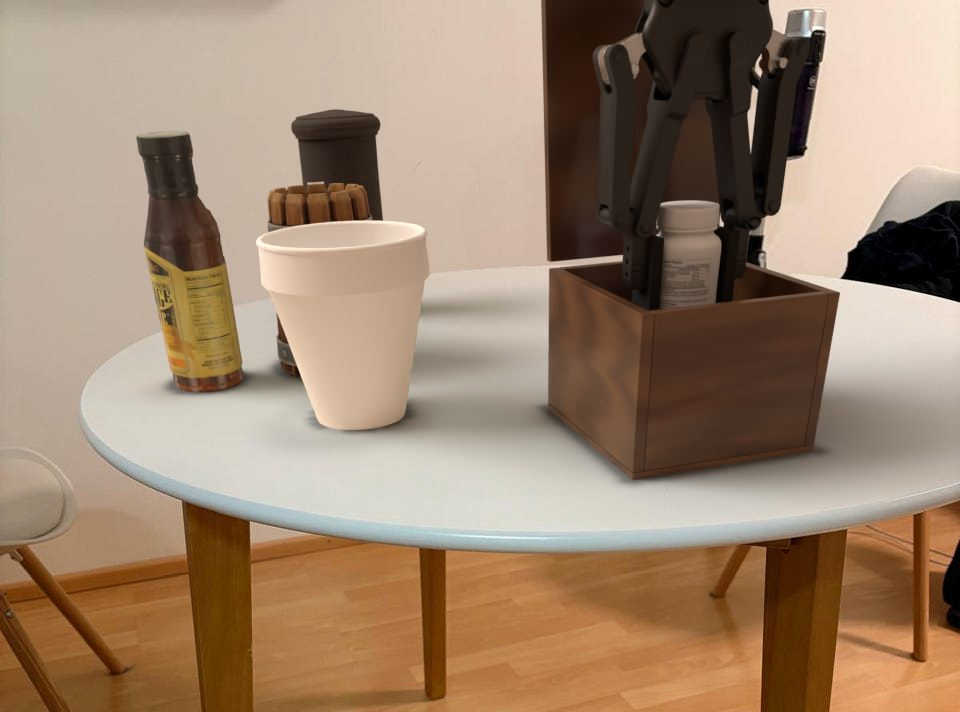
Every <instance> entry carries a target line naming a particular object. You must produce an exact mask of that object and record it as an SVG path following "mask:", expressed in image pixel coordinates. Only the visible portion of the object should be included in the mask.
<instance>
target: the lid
mask: <svg viewBox="0 0 960 712" xmlns="http://www.w3.org/2000/svg"><path fill="white" fill-rule="evenodd" d="M540 7H541V8H540V9H541V51H542V56H541V57H542V87H543V88H542V94H543V96H542V99H543V101H542V103H543V142H544V143H543V144H544V185H545V228H546V231H545V232H546V235H545V236H546V261H547V262H549V263H553V262H555V263H556V262H564V261H565V262H566V261H574V260H585V259H586V260H587V259H595V258H596V259H597V258H607V257H617V256H623V243H624V240H623V235H622V233H621V232H620V231H619V230H617V229H614V228H611V227H609V226H606V225H603V224H601V223H599V222H598V220H597V216H596V210H597V182H598V154H599V126H600V97H601V91H600V87H599V83H598V79H597V75H596V71H595V68H594V64H593V53H594V51H595V49H596V48H597V47H598V46H601V45H613V44H615V43H617V42H619V41H621V40H623V39H625V38H627V37H629V36H631V35H633V34H635V29H636V26H637V23H638V21H639V19H640V17H641V14H642V11H643V7H644V0H540ZM639 68H640V70H639V73H638V75H637V77H636V78H635V79H634V82H635V118H634V136H633V155H632V174H631V182H632V178H633V174H634V170H635V166H636V162H637V158H638V154H639V150H640V146H641V142H642V138H643V134H644V130H645V126H646V122H647V117H648V114H647V103H648V99H649V95H650V91H651V87H652V83H653V78H652V76H651V74H650V72H649V70H648V68H647V66H646V64H645V62H644V60H643V58H642V56H641V58H640V61H639ZM692 200H696V201H709V202H715V203H718V204H719V196H718V186H717V176H716V166H715V157H714V147H713V137H712V127H711V119H710V116H709V114H708V113H707V111H706V107H705V99H699V100H697V101H692V104H691V108H690V111H689V114H688V116H687V118H686V119H685V120H684V121H683V123H682V126H681V130H680V134H679V138H678V141H677V145H676V149H675V153H674V156H673V160H672V164H671V167H670V171H669V175H668V179H667V182H666V186H665V190H664V194H663V197H662V201H661V203H665V202H672V201H692ZM720 223H721V215H720V205H719V223H718V225H717V226H721V225H720ZM656 227H657V224H655V227H654V231H653V233H652V234H653V235H657V234H659V232H660V230H658V229H657V228H656Z"/></svg>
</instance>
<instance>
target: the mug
mask: <svg viewBox="0 0 960 712" xmlns="http://www.w3.org/2000/svg"><path fill="white" fill-rule="evenodd" d="M267 209H268V211H267V212H268V220H267V223H266V224H267V233H268V232H272V231H275V230H279V229H283V228H288V227H293V226H300V225H307V224H315V223H326V222H340V221H371V220H372V221H373V219H372V215H370V212H369V206H368V199H367V193H366V191H365V189H364V187H363V186H359V185H358V184H347V186H345V185H344V184H343V183H331V184H329V187H328V189H327V188H326V187H325V185H324V182H310V183H308V186H307V189H306V190H305V189H304V187H303V184H298V185H297V184H296V185H289V186H287V189H286V187H278V188H274V189H273V190H272V189H271V190H269V192H268V196H267ZM276 321H277V322H276V323H277V335H276V347H277V357H278V360H279V361H280V368H281V369H282V370H283V371H284V372H285V373H287V374H289V375H290V376H293V377H301V375H300V372H299V370H298V367H297V364H296V362H295V359H294V356H293V354H292V351H291V348H290V346H289V343H288V340H287V338H286V335H285V333H284V330H283V327H282V325H281V322H280V319H279V317H278V314H277V313H276Z"/></svg>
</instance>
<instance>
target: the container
mask: <svg viewBox="0 0 960 712" xmlns="http://www.w3.org/2000/svg"><path fill="white" fill-rule="evenodd" d="M290 129H291V132H292V135H293V136H294V137H295V139H296V140H297V145H298V152H299V154H298V155H299V163H300V171H301V181H302V182H301V183H302V185H303V187H304V189H305V190H306V189H307V186H308V183H310V182H324V185H325V187H326V188H327V189H328V187H329V184H331V183H343V184H344V185H345V186H347V184H358V185H359V186H363V187H364V189H365V191H366V193H367V199H368V206H369V212H370V215H372V219H373V221H384V215H383V205H382V204H383V203H382V195H381V185H380V172H379V161H378V148H377V136H378V135H379V131H380V129H381V121H380V118H379V117H378V116H376V115H375V114H374V113H371V112H363V111H359V110H358V111H356V110H348V109H340V108H339V109H337V108H334V109H333V108H332V109H327V110H322V111H318V112H312V113H307V114H305V115H299V116H296V117H295V119H294V120H293V121H292V122H291V126H290Z"/></svg>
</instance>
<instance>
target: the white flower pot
mask: <svg viewBox="0 0 960 712" xmlns="http://www.w3.org/2000/svg"><path fill="white" fill-rule="evenodd" d="M427 237H428V232H427V229H426V228H425V227H424V226H421V225H418V224H416V223H410V222H405V221H394V220H383V221H372V220H371V221H340V222H326V223H315V224H307V225H300V226H293V227H288V228H283V229H279V230H275V231H272V232H268V231H267V232H266V233H264V234H262V235H259V236H258V237H257V239H256V241H255V245H256V247H257V248H258V259H259V270H260V281H261V286H262V287H263V288H264V289H265V290H267V291H268V293H269V295H270V298H271V301H272V303H273V306H274V309H275V311H276V315H277V314H278V317H279V319H280V322H281V325H282V327H283V330H284V333H285V335H286V338H287V340H288V343H289V346H290V348H291V351H292V354H293V356H294V359H295V362H296V364H297V367H298V370H299V372H300V375H301V376H300V378H301V380H302V382H303V385H304V388H305V390H306V393H307V396H308V398H309V401H310V404H311V406H312V409H313V412H314V414H315V417H316V419H317V422H318V423H319V424H320V425H322V426H324V427H326V428H331V429H334V430H341V431H364V430H372V429H379V428H382V427H386V426H389V425H392V424H394V423H396V422H399V421H400V420H402V419H403V418H404V416H405V415H406V410H407V403H408V398H409V397H408V396H409V390H410V383H411V376H412V370H413V363H414V357H415V349H416V342H417V336H418V330H419V322H420V316H421V309H422V303H423V296H424V289H425V282H426V280H427V279H428V278H430V275H431V269H430V262H429V253H428V246H427Z"/></svg>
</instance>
